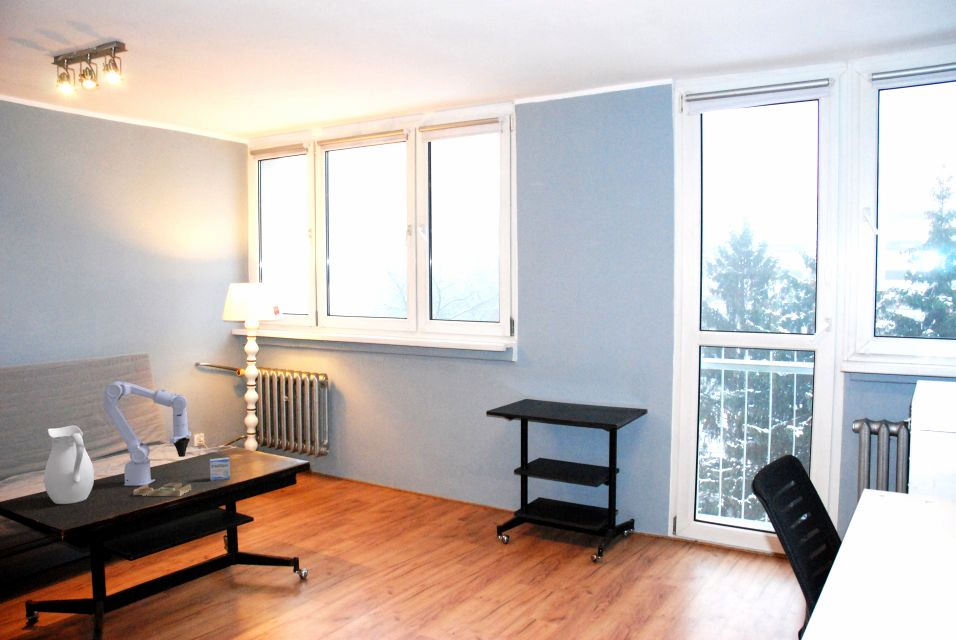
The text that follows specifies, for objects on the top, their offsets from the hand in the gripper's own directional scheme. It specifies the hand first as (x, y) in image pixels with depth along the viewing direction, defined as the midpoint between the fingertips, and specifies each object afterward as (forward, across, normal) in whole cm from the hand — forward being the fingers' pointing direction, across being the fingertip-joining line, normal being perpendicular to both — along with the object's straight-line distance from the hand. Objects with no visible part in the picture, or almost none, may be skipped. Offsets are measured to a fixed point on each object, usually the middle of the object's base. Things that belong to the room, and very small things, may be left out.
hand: (181, 456), depth 317 cm
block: (+10, -20, -6) cm, 23 cm away
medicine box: (+10, +1, -16) cm, 19 cm away
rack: (+10, -20, -2) cm, 22 cm away
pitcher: (+10, -33, +27) cm, 44 cm away
